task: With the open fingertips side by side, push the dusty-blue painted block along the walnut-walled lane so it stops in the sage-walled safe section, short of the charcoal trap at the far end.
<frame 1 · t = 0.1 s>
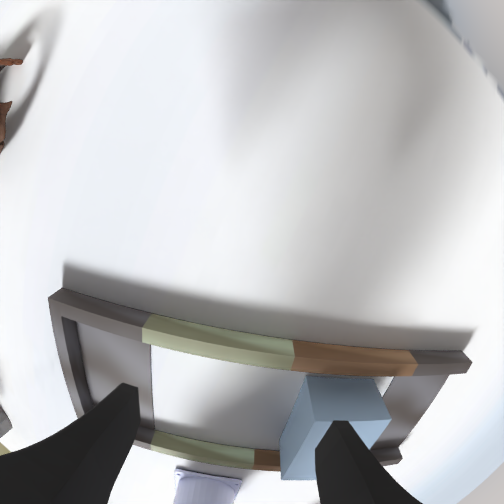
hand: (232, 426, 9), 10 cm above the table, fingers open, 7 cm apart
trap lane: (251, 408, 21), on the table
blue block: (323, 412, 22), resting in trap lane
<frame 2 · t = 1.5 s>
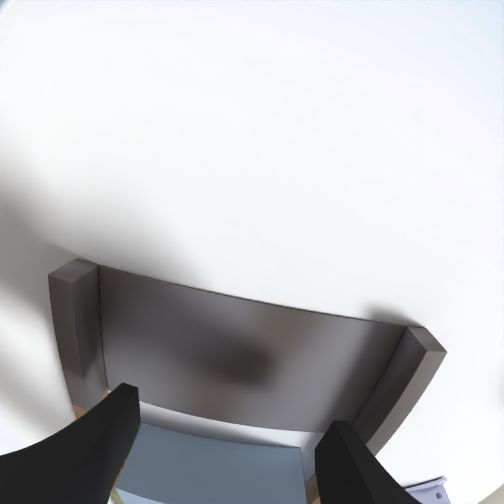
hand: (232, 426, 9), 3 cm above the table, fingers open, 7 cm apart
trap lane: (207, 497, 15), on the table
blue block: (216, 462, 14), resting in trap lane
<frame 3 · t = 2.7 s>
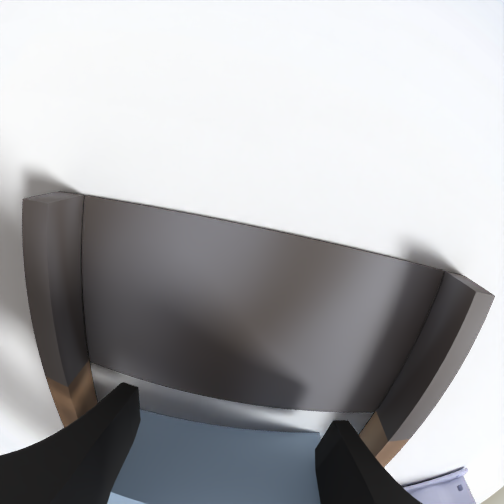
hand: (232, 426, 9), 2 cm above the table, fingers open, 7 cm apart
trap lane: (208, 496, 13), on the table
blue block: (219, 454, 12), resting in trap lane, touching gripper
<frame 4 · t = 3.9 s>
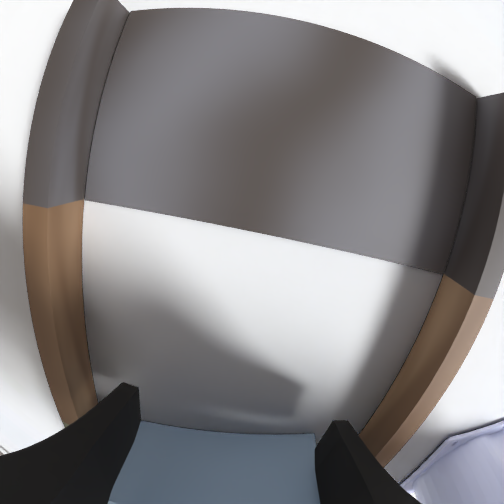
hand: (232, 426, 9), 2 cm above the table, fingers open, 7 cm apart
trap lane: (220, 454, 12), on the table
blue block: (220, 461, 12), resting in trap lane, touching gripper
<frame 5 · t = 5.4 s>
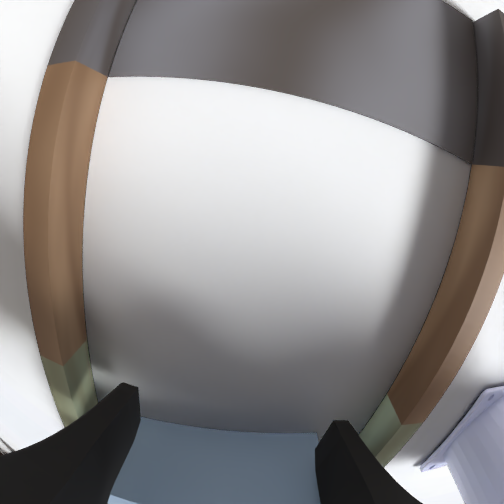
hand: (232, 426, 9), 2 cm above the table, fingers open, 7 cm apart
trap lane: (233, 405, 10), on the table
blue block: (221, 457, 12), resting in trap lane
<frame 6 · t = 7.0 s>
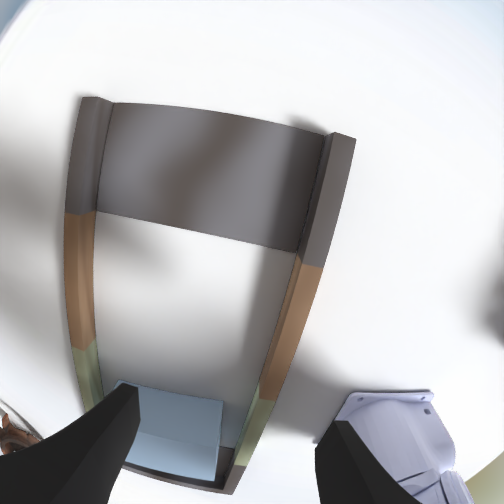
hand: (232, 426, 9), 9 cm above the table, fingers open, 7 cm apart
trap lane: (171, 375, 20), on the table
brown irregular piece: (30, 433, 26), on the table
blue block: (171, 412, 21), resting in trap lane
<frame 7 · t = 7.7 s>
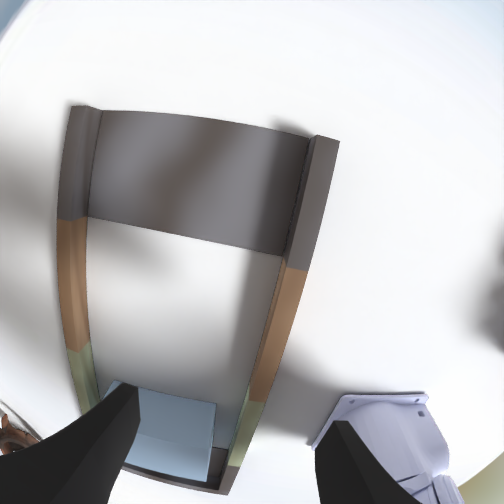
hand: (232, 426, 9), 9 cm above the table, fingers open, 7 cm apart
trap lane: (163, 377, 20), on the table
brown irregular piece: (29, 433, 27), on the table
blue block: (165, 413, 21), resting in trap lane
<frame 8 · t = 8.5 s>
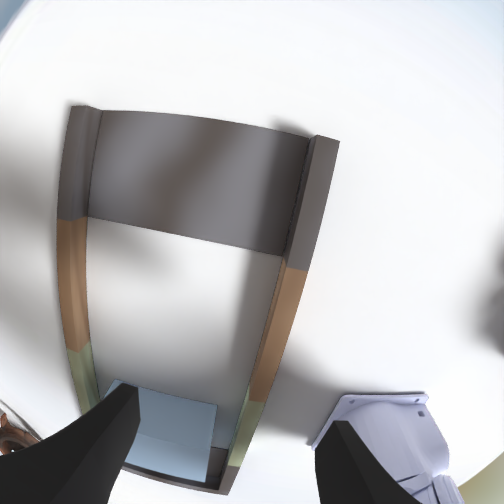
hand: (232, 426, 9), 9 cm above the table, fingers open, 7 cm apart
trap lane: (163, 377, 20), on the table
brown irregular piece: (27, 432, 26), on the table
blue block: (165, 413, 21), resting in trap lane
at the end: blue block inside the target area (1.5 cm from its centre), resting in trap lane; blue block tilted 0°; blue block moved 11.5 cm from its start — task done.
